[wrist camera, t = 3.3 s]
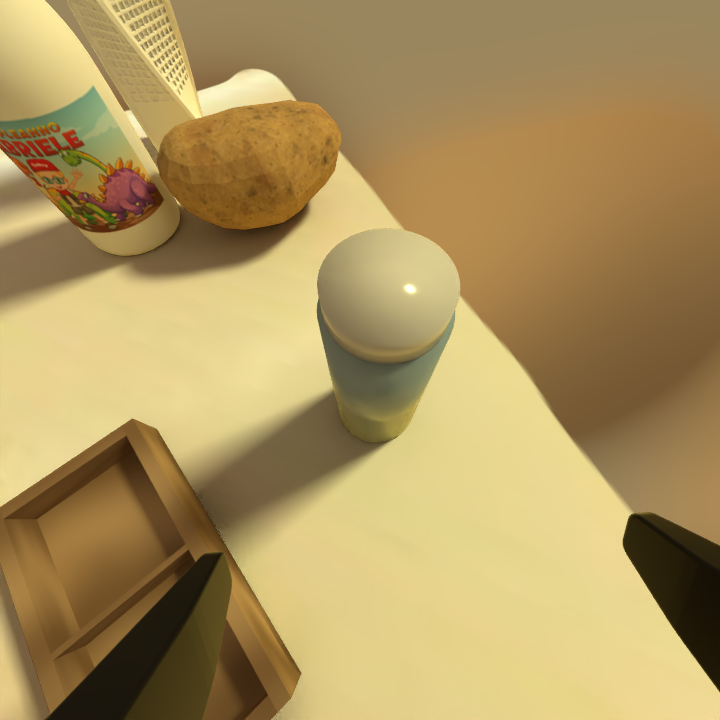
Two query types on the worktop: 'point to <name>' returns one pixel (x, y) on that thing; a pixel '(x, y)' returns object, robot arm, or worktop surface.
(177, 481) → the caddy
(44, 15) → the milk bottle
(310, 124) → the potato
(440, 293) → the salt shaker
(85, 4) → the skyscraper
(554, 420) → the worktop surface
